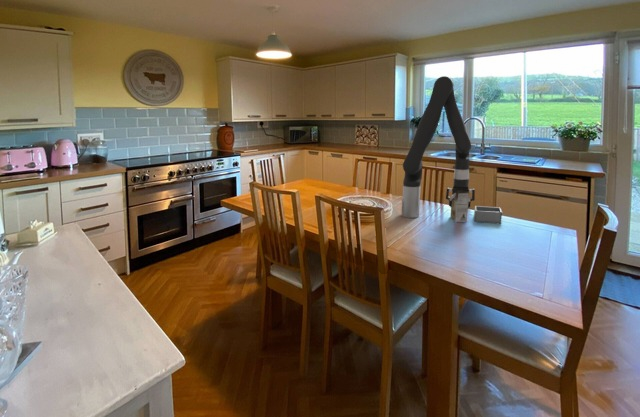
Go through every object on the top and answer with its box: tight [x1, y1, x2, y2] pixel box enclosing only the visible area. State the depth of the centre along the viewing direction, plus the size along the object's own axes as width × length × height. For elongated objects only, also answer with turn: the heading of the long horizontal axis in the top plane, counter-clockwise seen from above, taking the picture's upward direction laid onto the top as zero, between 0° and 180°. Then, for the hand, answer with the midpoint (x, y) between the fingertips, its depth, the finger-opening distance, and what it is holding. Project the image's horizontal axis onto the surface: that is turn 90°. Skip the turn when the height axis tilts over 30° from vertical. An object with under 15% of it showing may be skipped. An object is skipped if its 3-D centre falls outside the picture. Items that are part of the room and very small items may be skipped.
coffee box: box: [450, 191, 470, 223], centre depth 203 cm, size 9×6×16 cm
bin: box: [473, 205, 503, 224], centre depth 202 cm, size 13×10×6 cm
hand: (459, 207), depth 203 cm, fingers open, 8 cm apart
